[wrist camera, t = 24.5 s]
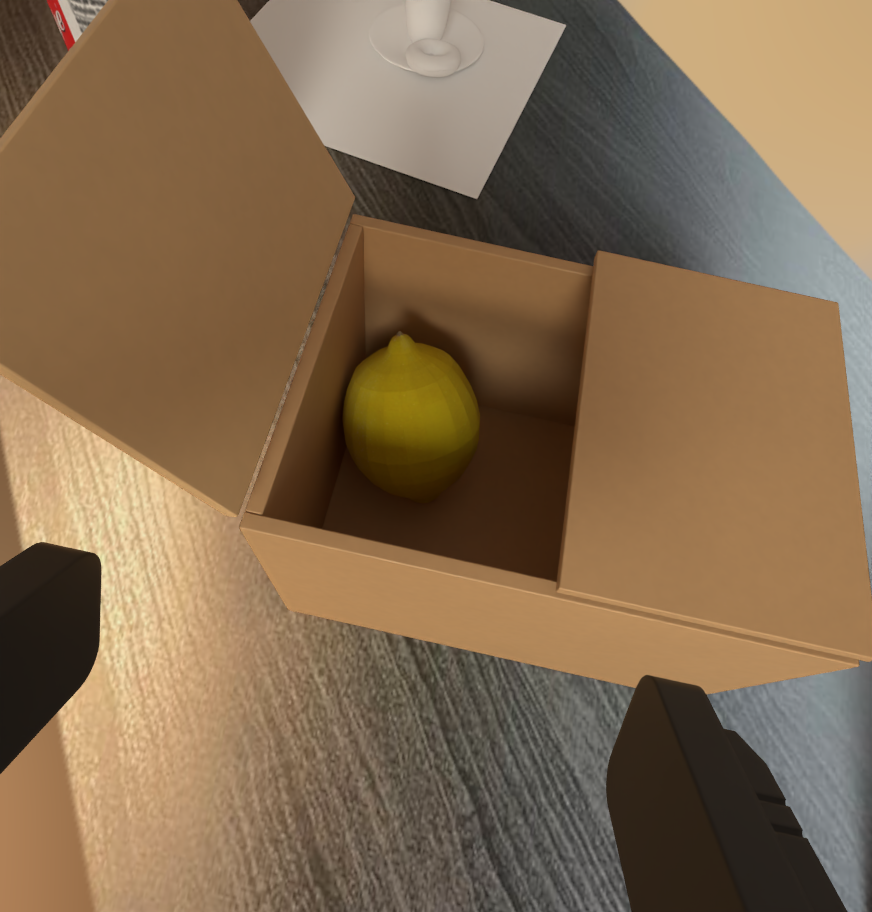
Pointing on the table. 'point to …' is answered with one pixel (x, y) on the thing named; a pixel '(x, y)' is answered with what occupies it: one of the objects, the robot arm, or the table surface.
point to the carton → (583, 469)
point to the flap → (166, 239)
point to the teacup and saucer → (411, 78)
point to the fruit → (411, 419)
